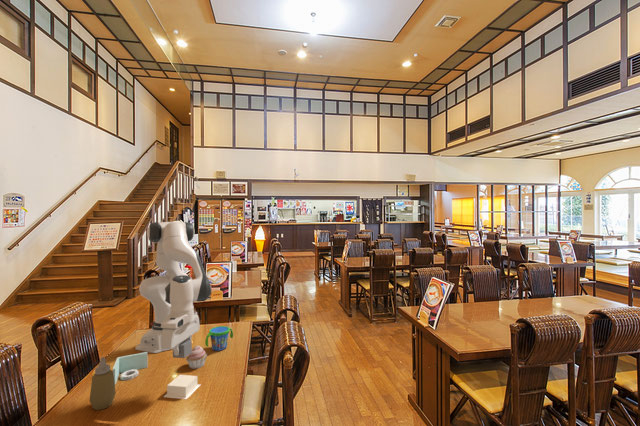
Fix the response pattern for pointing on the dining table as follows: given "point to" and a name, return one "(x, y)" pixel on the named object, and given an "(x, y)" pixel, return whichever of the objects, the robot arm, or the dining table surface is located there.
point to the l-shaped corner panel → (129, 366)
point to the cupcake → (196, 358)
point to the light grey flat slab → (182, 397)
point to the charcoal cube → (184, 349)
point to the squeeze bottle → (102, 386)
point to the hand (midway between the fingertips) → (182, 351)
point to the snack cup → (219, 337)
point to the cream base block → (182, 386)
